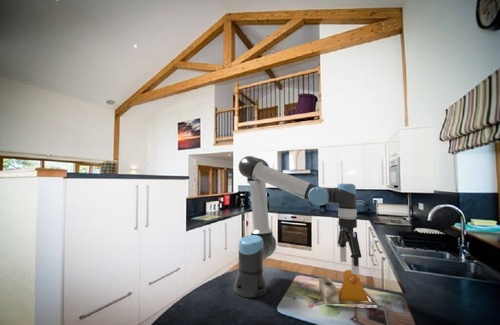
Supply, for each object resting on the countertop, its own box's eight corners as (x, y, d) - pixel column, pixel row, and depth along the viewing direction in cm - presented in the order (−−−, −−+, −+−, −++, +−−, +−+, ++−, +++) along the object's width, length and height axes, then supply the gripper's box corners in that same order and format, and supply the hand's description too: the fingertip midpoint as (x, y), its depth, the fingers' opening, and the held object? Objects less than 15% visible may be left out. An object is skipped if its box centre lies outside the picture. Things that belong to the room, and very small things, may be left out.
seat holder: (326, 306, 83) (325, 289, 84) (319, 291, 95) (318, 277, 96) (378, 309, 82) (377, 292, 82) (364, 293, 94) (363, 279, 94)
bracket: (360, 296, 91) (358, 268, 93) (368, 305, 84) (366, 274, 86) (335, 295, 92) (334, 267, 94) (341, 304, 85) (340, 273, 87)
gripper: (369, 223, 80) (371, 280, 77) (345, 214, 105) (346, 258, 102) (349, 222, 81) (351, 279, 78) (330, 214, 105) (331, 257, 103)
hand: (348, 267), depth 90 cm, fingers open, 13 cm apart
